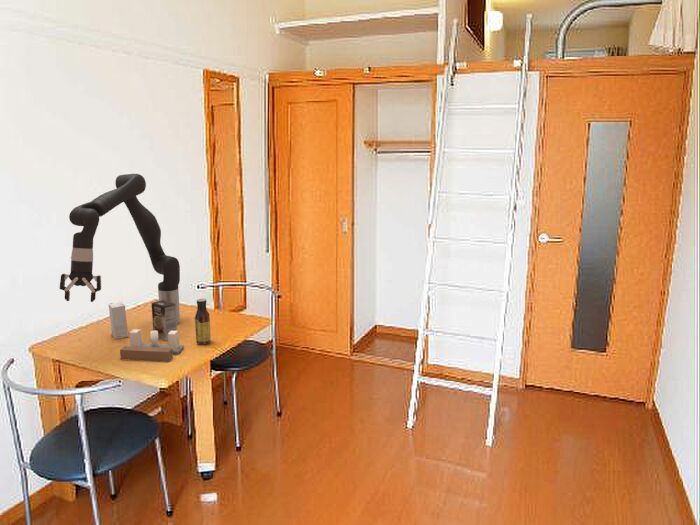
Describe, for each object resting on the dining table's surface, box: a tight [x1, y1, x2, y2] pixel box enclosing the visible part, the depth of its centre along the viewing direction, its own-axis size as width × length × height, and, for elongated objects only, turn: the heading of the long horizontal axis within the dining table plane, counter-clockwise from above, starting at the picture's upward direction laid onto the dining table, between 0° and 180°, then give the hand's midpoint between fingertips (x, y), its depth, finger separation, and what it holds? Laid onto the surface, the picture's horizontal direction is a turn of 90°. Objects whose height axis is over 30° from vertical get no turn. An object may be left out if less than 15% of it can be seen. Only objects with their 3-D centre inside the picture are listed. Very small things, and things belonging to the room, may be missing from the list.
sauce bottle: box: [194, 298, 212, 345], centre depth 233 cm, size 6×6×20 cm
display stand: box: [129, 328, 185, 356], centre depth 224 cm, size 7×22×8 cm, turn 87°
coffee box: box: [151, 300, 178, 342], centre depth 239 cm, size 9×6×16 cm
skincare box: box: [108, 301, 129, 340], centre depth 240 cm, size 8×6×15 cm
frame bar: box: [119, 345, 174, 363], centre depth 217 cm, size 4×20×4 cm, turn 86°
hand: (79, 301), depth 208 cm, fingers open, 8 cm apart
